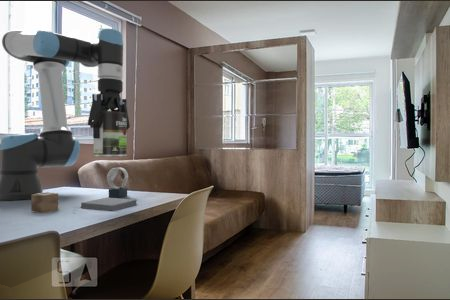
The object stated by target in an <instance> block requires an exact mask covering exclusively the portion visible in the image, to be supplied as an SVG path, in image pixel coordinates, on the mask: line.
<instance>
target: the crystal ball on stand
mask: <svg viewBox="0 0 450 300" xmlns="http://www.w3.org/2000/svg"><path fill="white" fill-rule="evenodd" d="M119 170H120V171H122V173H123V174H124V177H123V180H122V183H121V184H120V187H118V186H117V185H115V184H114V181H115V179H116V177H117V176H118V174H119ZM106 178H107V183H108V185H109V187H110V188H108V198H120V199H122V198H126V197H128V188H127V187H126V186H127V184H128V183H129V182H128V181H129V179H130V177H129V173H128V170H127V169H125V168H124V167H113V168H111V169H110V170H109V171H108V172H107V174H106ZM125 196H126V197H125ZM121 197H122V198H121Z"/></svg>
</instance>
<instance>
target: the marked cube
mask: <svg viewBox="0 0 450 300" xmlns="http://www.w3.org/2000/svg"><path fill="white" fill-rule="evenodd" d="M30 200H31V211H34V213H41V212H42V214H43V213H44V214H45V213H51V212H55V211H58V210H59V193H58V192H57V193H56V192H49V191H47V192H46V191H45V192H44V191H43V193H37V194H33V195H31V199H30Z"/></svg>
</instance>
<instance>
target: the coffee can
mask: <svg viewBox="0 0 450 300" xmlns="http://www.w3.org/2000/svg"><path fill="white" fill-rule="evenodd" d="M127 113H128V112H127ZM127 113H126V112H118V111H111V110H108V111H100V112H99V115H102V114H103V123H102V125H101V127H100V128H103V150H96V149H94V148H93V155H92V156H93V157H94V158H95V157H96V158H97V157H101V158H116V157H117V158H121V157H123V158H124V157H127V153H128V152H127V148H128V147H127V137H128V136H127V134H128V133H127V132H128V130H127Z"/></svg>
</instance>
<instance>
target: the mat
mask: <svg viewBox="0 0 450 300" xmlns="http://www.w3.org/2000/svg"><path fill="white" fill-rule="evenodd" d="M135 205H137V199H132V198H131V199H130V198H109V197H103V198H102V197H101V198H97V199H93V200H89V201H83V202H80V208H81V209H94V210H103V211H104V210H105V211H117V210H121V209H124V208H127V207H128V208H129V207H131V206H135Z"/></svg>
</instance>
